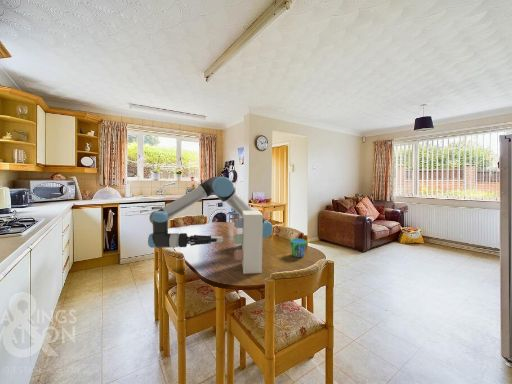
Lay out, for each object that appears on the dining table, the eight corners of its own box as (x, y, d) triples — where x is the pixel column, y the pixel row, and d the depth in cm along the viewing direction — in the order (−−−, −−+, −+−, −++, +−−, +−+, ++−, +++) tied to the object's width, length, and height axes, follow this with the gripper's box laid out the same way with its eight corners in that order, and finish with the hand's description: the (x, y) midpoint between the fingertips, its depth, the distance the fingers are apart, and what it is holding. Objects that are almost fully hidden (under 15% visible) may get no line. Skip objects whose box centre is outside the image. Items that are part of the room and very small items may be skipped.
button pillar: (258, 262, 135) (259, 210, 133) (261, 272, 122) (262, 214, 119) (242, 263, 134) (242, 210, 132) (243, 273, 120) (244, 214, 118)
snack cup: (299, 260, 140) (299, 244, 139) (284, 256, 146) (285, 241, 146) (310, 254, 152) (311, 239, 151) (296, 251, 158) (297, 236, 158)
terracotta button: (242, 256, 129) (242, 249, 129) (243, 259, 125) (243, 252, 124) (234, 257, 129) (234, 249, 128) (234, 260, 124) (234, 252, 124)
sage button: (242, 241, 128) (242, 234, 128) (243, 243, 124) (243, 236, 124) (234, 241, 128) (234, 234, 128) (234, 244, 124) (234, 236, 123)
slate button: (242, 226, 128) (242, 218, 128) (243, 227, 123) (243, 220, 123) (234, 226, 127) (234, 218, 127) (234, 228, 123) (234, 220, 123)
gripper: (181, 243, 129) (223, 242, 132) (176, 250, 116) (222, 249, 119) (181, 230, 128) (223, 230, 131) (176, 236, 115) (222, 235, 118)
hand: (222, 239), depth 125 cm, fingers closed
